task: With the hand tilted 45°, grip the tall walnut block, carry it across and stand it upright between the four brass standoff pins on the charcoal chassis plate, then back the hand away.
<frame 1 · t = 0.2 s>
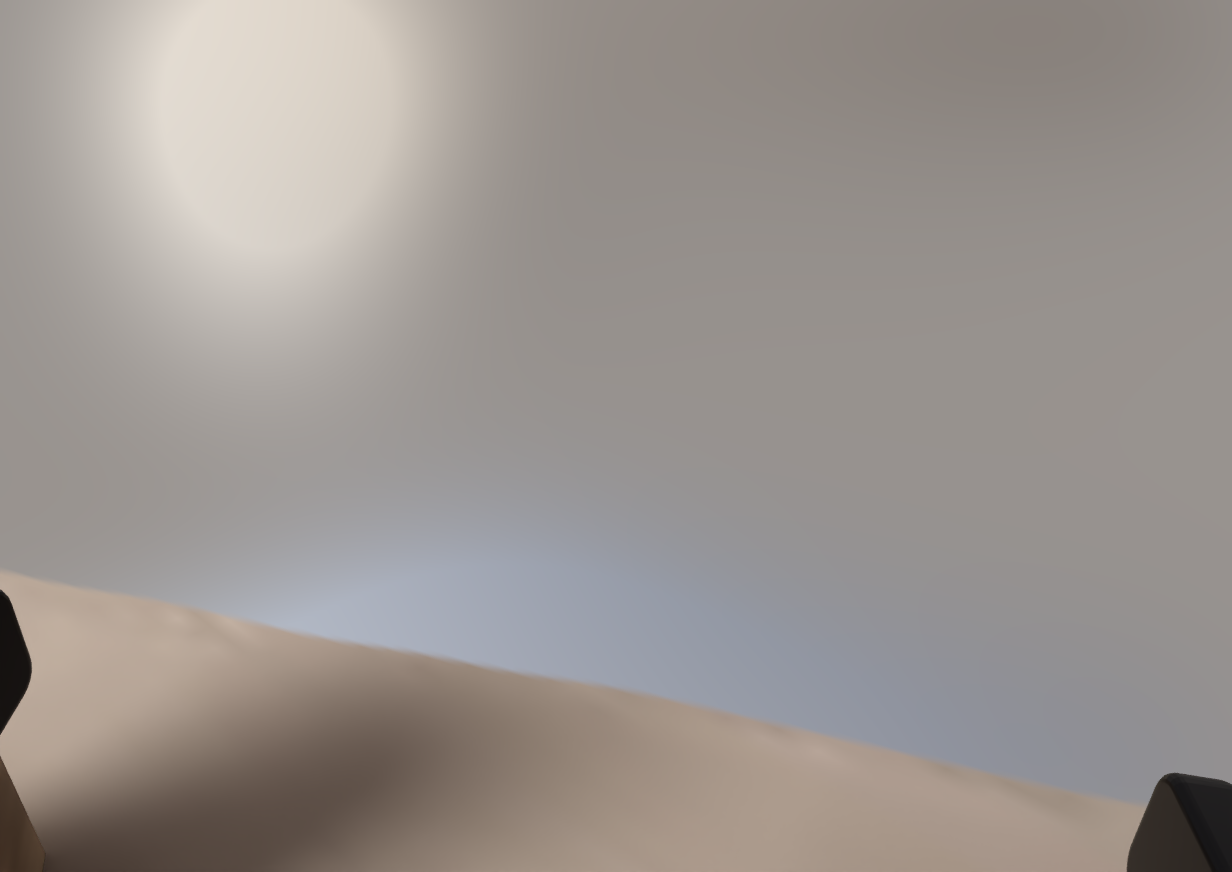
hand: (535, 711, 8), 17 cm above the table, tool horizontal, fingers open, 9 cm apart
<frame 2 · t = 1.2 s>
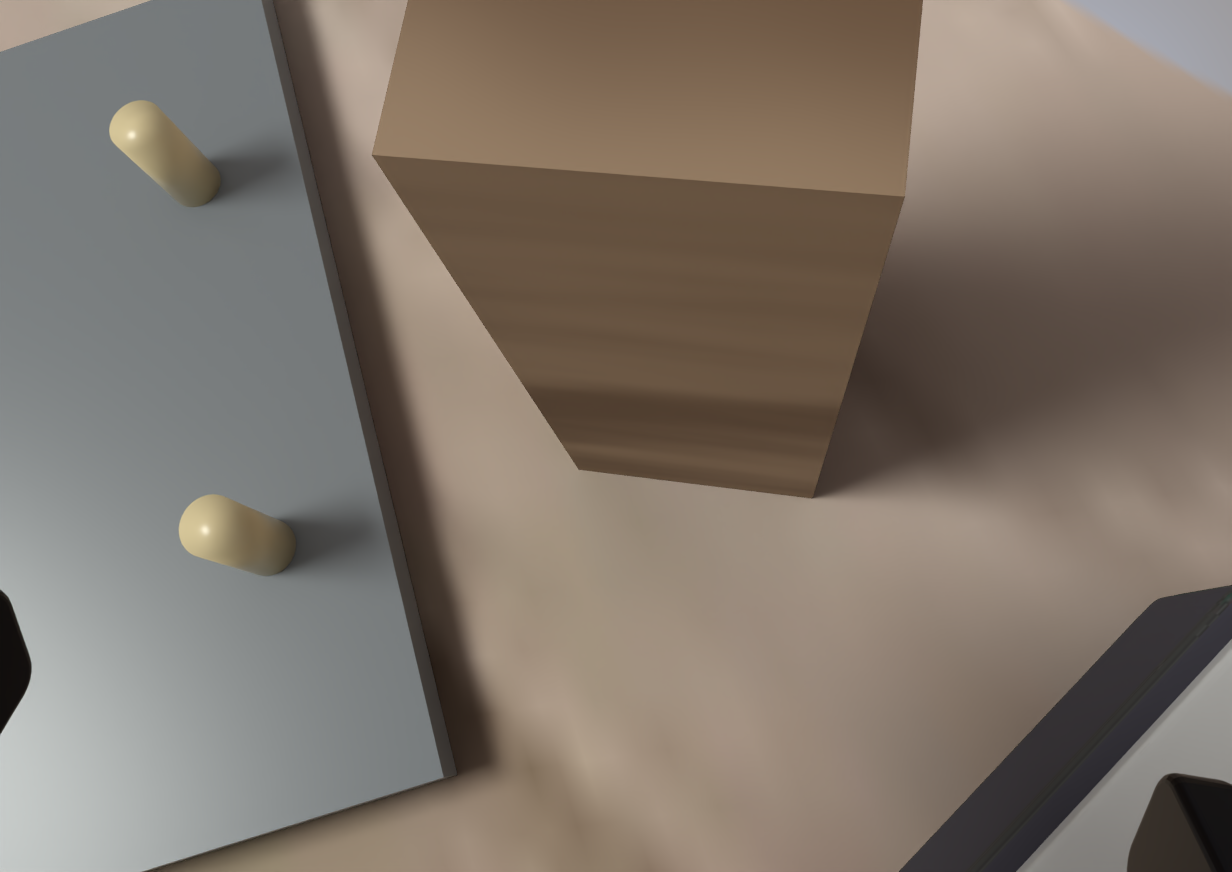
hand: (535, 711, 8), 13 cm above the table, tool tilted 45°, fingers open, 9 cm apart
walnut block: (708, 372, 23), on the table
chassis plate: (68, 429, 24), on the table
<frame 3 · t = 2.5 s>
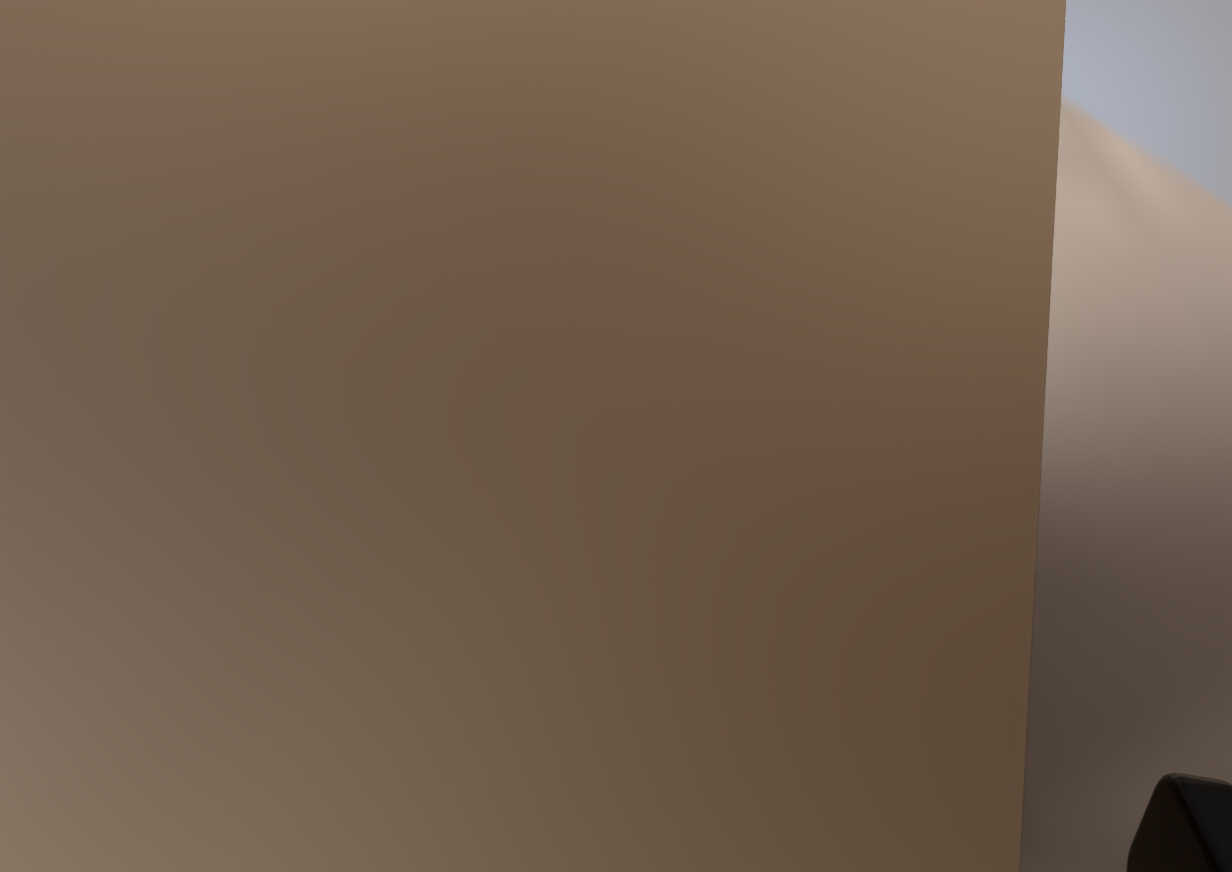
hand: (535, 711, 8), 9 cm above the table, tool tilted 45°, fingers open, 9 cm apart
walnut block: (647, 671, 16), on the table
when the fingers open (8 cm above the table, at t = 7.5 s): walnut block stays where it is, resting on chassis plate.
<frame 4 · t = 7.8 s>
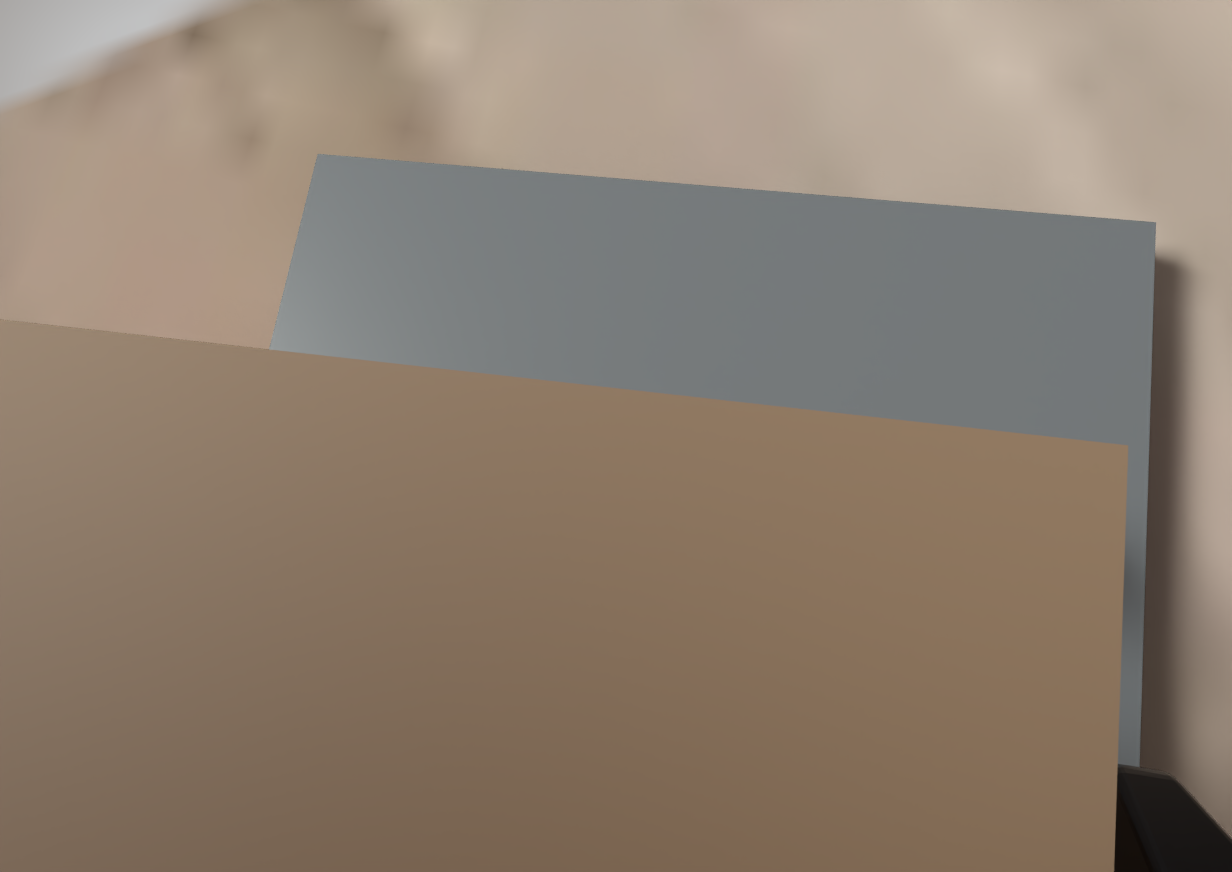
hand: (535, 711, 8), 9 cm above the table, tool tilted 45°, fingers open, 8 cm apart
walnut block: (615, 819, 15), point 1 cm above the table, touching chassis plate
chassis plate: (627, 807, 16), on the table
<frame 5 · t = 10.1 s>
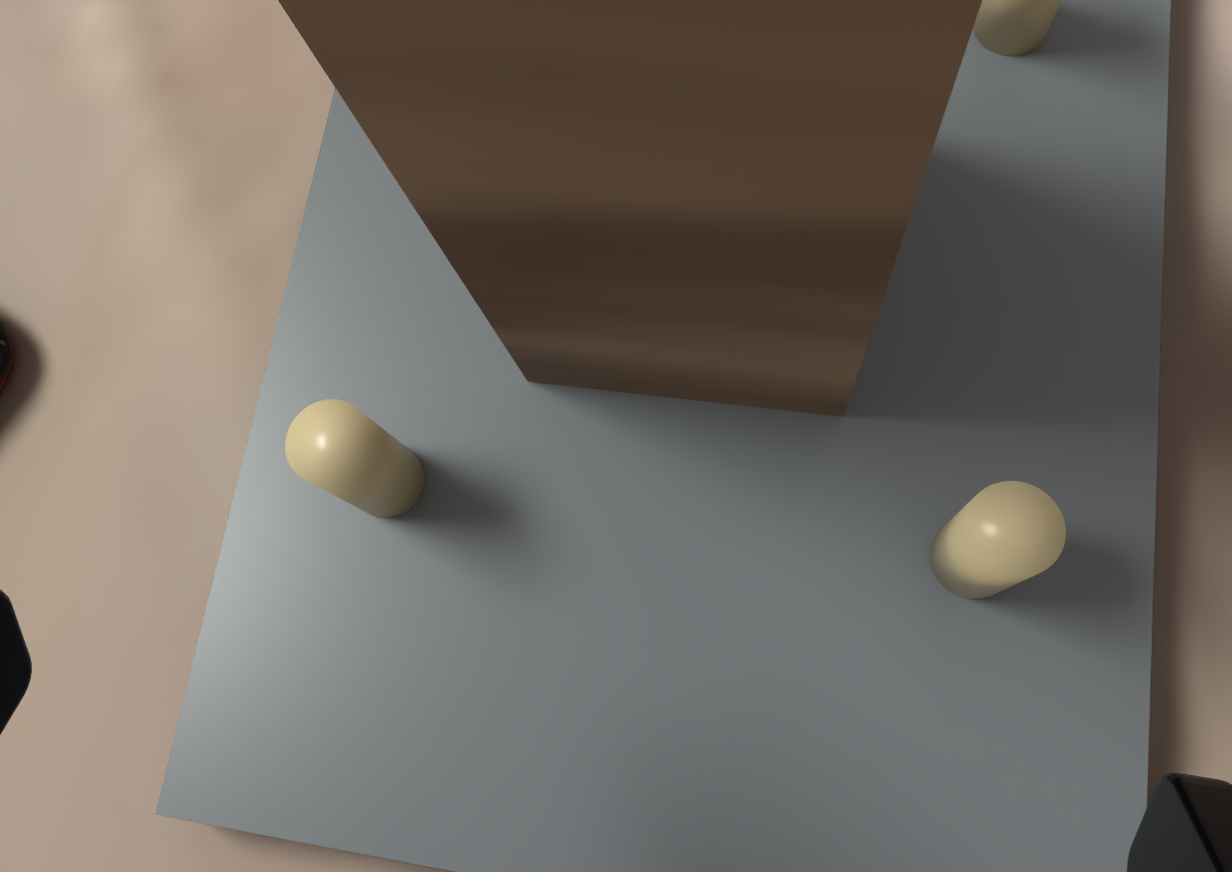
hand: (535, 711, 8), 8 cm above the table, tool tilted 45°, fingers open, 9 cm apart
walnut block: (702, 252, 17), point 1 cm above the table, touching chassis plate
chassis plate: (708, 272, 18), on the table
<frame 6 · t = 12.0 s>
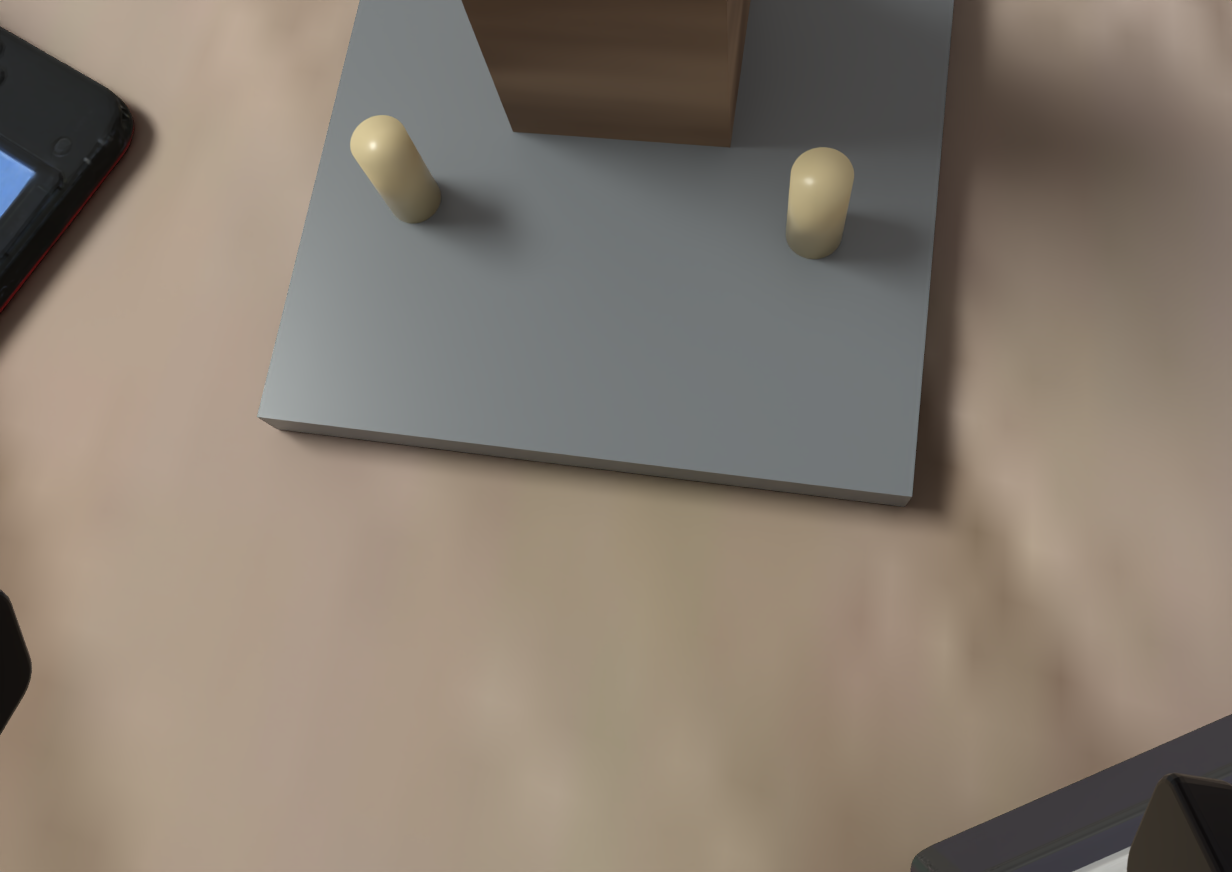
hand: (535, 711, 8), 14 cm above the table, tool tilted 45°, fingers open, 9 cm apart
walnut block: (635, 43, 24), point 1 cm above the table, touching chassis plate
chassis plate: (642, 66, 25), on the table
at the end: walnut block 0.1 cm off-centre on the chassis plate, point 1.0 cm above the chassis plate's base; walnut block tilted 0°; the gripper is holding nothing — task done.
